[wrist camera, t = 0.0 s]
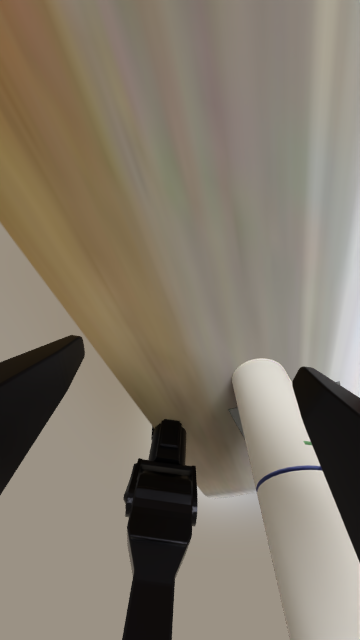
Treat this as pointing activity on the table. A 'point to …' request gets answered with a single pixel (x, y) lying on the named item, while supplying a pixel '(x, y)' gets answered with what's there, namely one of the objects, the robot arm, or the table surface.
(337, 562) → the cylindrical container
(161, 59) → the table surface
